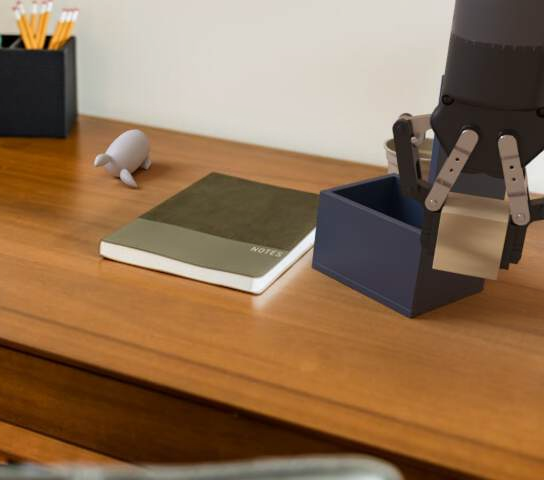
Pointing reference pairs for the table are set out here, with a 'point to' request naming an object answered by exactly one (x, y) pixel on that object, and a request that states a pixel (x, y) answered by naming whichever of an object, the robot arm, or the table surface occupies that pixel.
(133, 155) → the grey animal figurine
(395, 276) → the chest
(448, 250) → the block
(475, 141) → the robot arm
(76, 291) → the table surface
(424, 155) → the flower pot
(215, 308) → the table surface
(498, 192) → the lid
